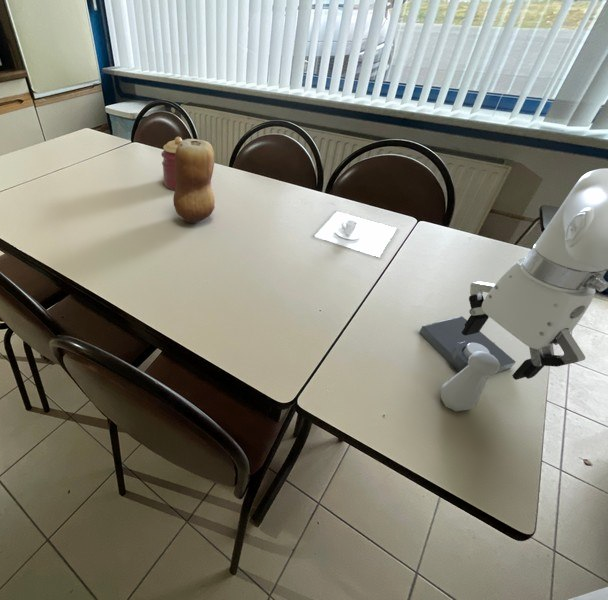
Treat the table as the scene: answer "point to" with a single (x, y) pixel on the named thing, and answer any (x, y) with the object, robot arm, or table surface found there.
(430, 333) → the plate
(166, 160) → the kitchen canister
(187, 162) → the butternut squash
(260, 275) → the table surface
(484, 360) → the salt shaker
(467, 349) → the flush button
